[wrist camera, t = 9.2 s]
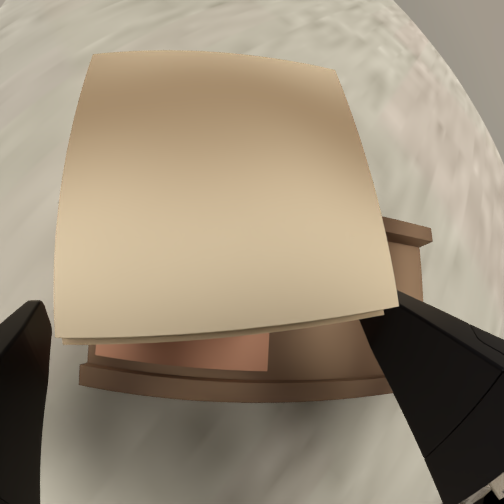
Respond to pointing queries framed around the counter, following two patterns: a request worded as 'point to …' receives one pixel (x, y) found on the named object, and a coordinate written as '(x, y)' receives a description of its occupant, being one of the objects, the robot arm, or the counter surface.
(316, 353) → the bay
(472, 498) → the coffee box
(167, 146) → the stack of paper
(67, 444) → the counter surface
